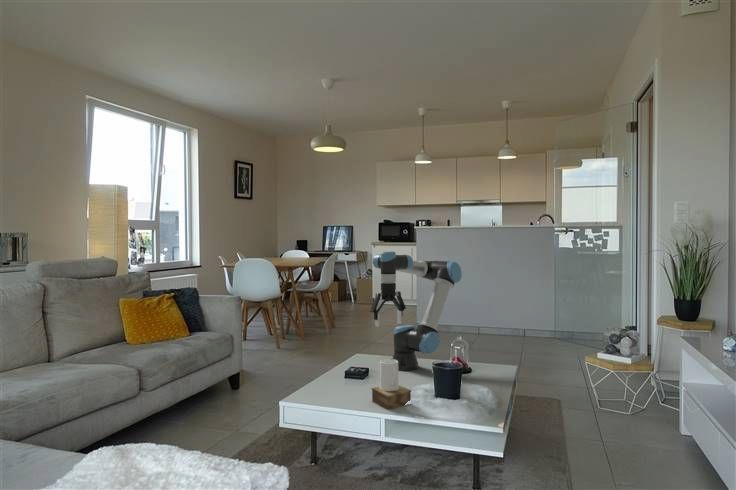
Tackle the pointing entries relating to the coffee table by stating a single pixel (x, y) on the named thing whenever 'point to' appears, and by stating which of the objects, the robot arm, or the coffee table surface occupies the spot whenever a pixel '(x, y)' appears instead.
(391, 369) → the mug
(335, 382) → the coffee table surface
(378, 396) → the walnut box
